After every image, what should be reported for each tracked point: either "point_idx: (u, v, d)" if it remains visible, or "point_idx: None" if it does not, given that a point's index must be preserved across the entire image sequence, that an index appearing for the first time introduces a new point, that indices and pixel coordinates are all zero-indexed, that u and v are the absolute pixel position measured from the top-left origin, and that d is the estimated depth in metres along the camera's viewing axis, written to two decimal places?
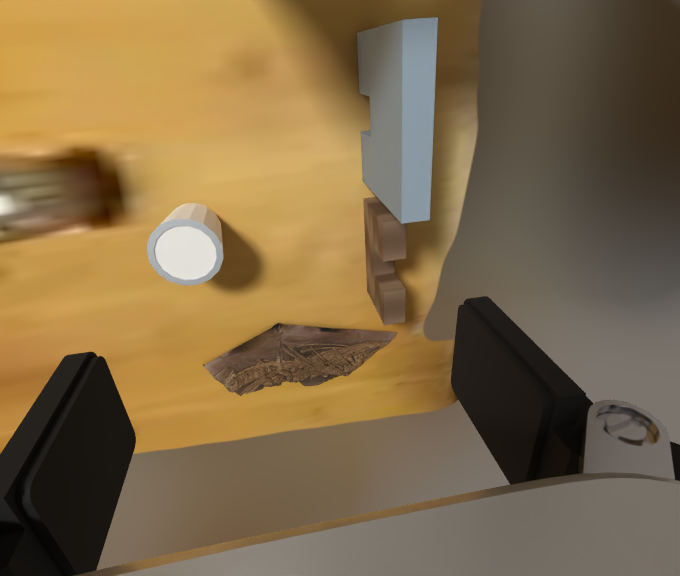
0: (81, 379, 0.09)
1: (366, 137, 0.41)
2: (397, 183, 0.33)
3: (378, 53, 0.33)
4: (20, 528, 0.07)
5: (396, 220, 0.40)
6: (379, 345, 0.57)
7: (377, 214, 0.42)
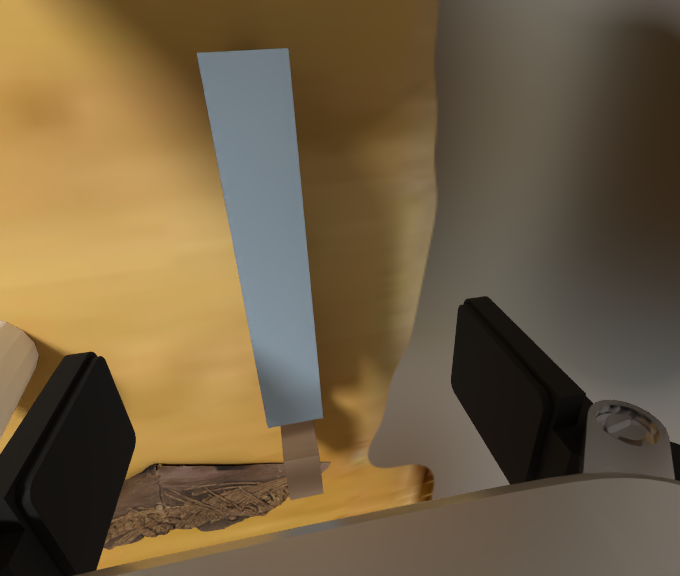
0: (81, 379, 0.09)
1: None
2: None
3: None
4: (20, 528, 0.07)
5: None
6: None
7: None
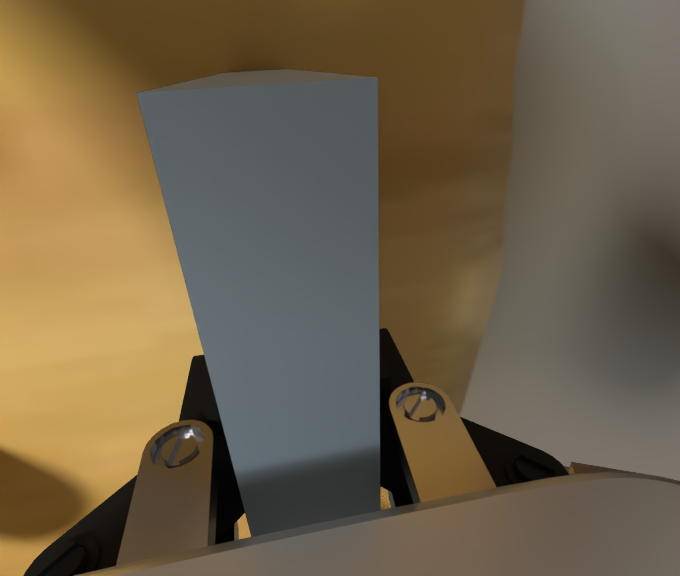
0: None
1: None
2: None
3: None
4: None
5: None
6: None
7: None
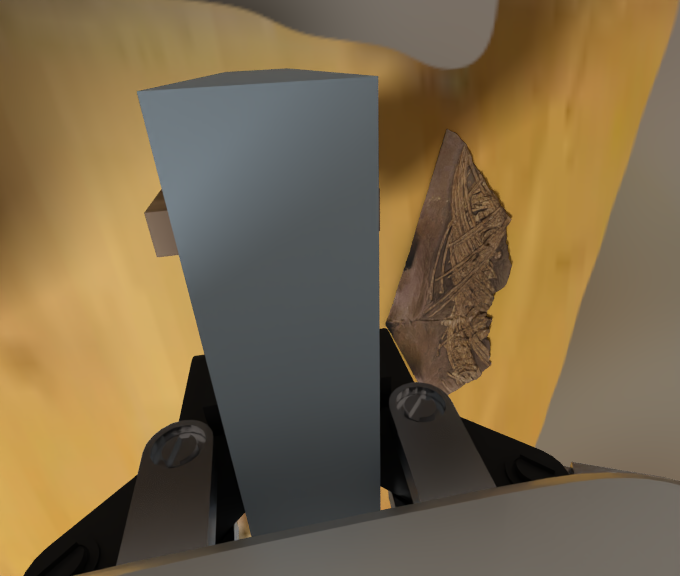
0: None
1: None
2: None
3: None
4: None
5: (150, 230, 0.21)
6: (465, 164, 0.31)
7: None
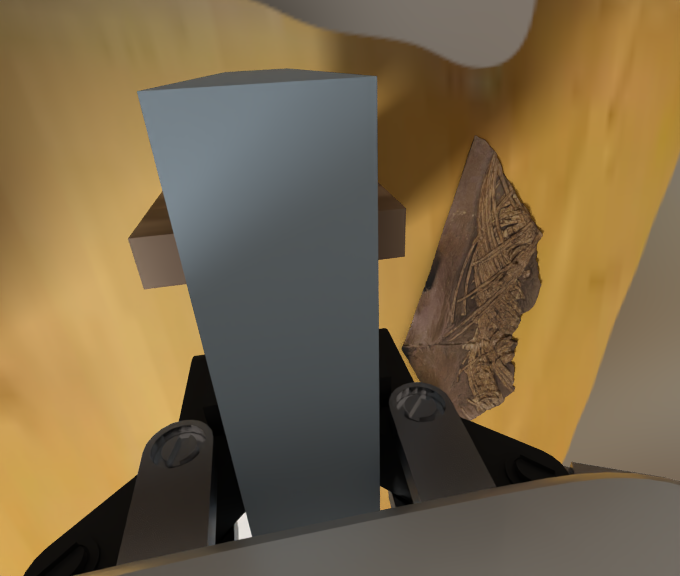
0: None
1: None
2: None
3: None
4: None
5: (136, 259, 0.18)
6: (494, 174, 0.27)
7: None
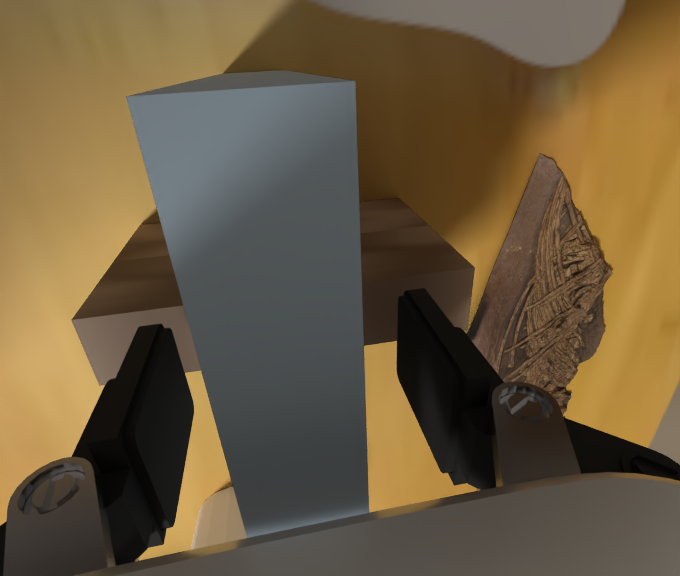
0: (157, 346, 0.10)
1: None
2: None
3: None
4: (126, 467, 0.08)
5: (85, 346, 0.12)
6: (560, 202, 0.22)
7: None
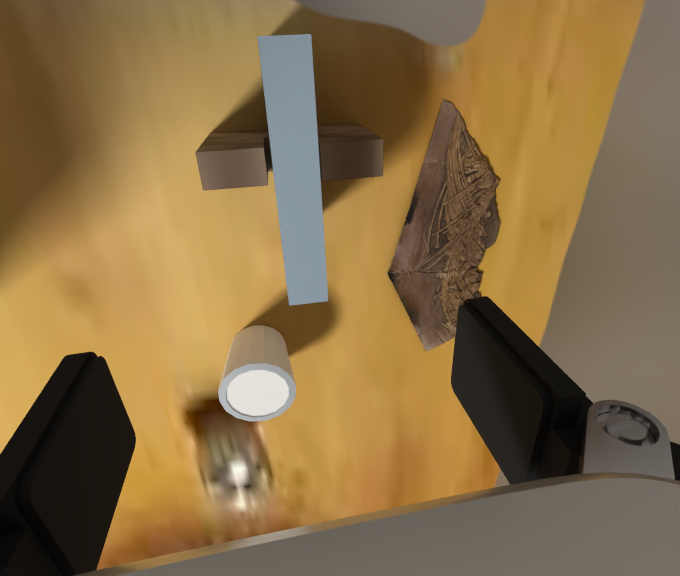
0: (81, 379, 0.09)
1: None
2: None
3: None
4: (21, 528, 0.07)
5: (199, 168, 0.26)
6: (459, 130, 0.36)
7: None
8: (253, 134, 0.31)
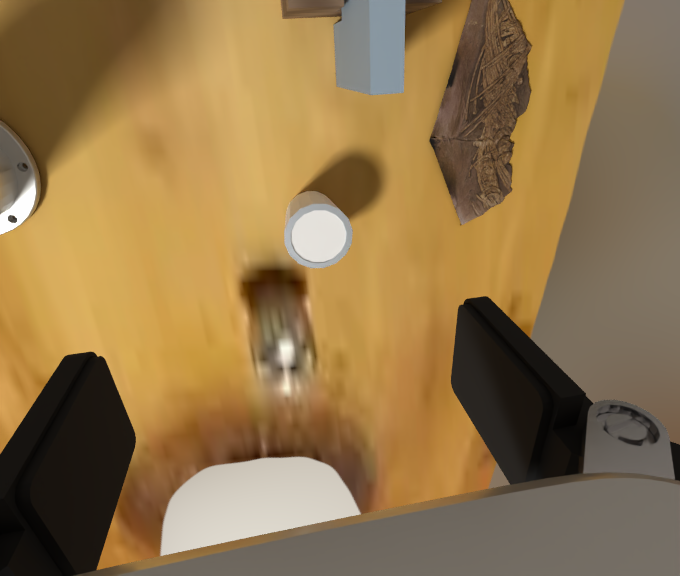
0: (81, 379, 0.09)
1: (338, 25, 0.37)
2: (366, 46, 0.29)
3: None
4: (20, 528, 0.07)
5: None
6: None
7: (286, 9, 0.33)
8: None
